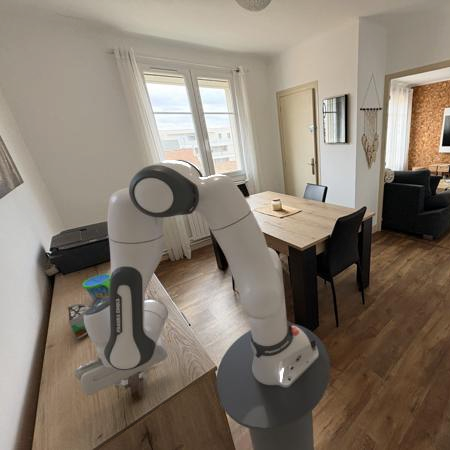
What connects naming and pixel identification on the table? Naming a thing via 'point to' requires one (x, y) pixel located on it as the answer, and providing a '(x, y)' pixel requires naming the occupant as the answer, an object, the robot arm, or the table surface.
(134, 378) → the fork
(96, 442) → the table surface
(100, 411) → the table surface
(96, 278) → the snack cup
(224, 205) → the robot arm
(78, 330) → the food container
